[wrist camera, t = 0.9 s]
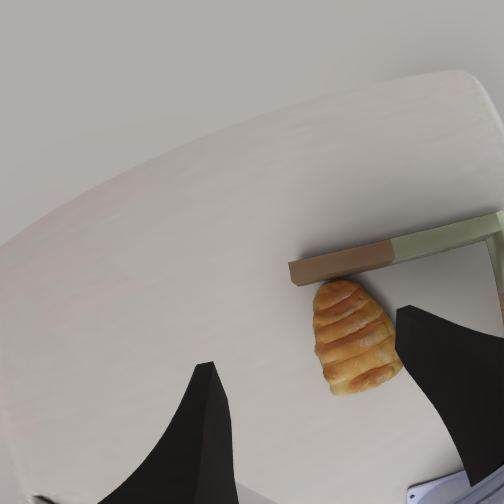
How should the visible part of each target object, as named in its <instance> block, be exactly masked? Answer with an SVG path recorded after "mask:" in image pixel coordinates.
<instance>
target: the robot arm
mask: <svg viewBox="0 0 504 504" xmlns="http://www.w3.org/2000/svg"><path fill="white" fill-rule="evenodd" d="M395 351H396V353H397V355H398V356H399V358H400V360H401V362H402V363H403V365H404V367H405V369H406V370H407V371H408V373H409V374H410V375H411V377H412V378H413V379H414V380H415V382H416V383H417V384H418V386H419V387H420V388H421V390H422V391H423V392H424V394H425V395H426V396H427V397H428V399H429V400H430V401H431V403H432V404H433V405H434V407H435V408H436V410H437V411H438V413H439V415H440V417H441V418H442V420H443V422H444V424H445V426H446V428H447V429H448V431H449V433H450V435H451V438H452V440H453V442H454V444H455V446H456V448H457V451H458V453H459V455H460V458H461V460H462V462H463V465H464V468H465V470H464V471H461V472H459V473H456V474H453V475H450V476H447V477H444V478H441V479H438V480H435V481H432V482H428V483H425V484H421V485H418V486H414V487H411V488H409V489H408V490H407V504H504V338H501V337H496V336H492V335H488V334H484V333H481V332H478V331H475V330H472V329H469V328H466V327H463V326H460V325H458V324H455V323H453V322H450V321H448V320H445V319H443V318H440V317H438V316H436V315H433V314H431V313H429V312H426V311H424V310H422V309H419V308H417V307H414V306H411V305H408V306H405V307H402V308H399V309H397V312H396V334H395ZM498 490H499V491H498ZM497 491H498V492H497ZM495 492H496V493H495ZM494 493H495V494H494ZM493 494H494V495H493ZM411 495H414V496H412V497H410V496H411ZM491 495H493V496H491ZM490 496H491V497H490ZM488 497H490V498H489V499H488V500H487V498H488ZM97 504H239V502H238V496H237V491H236V485H235V479H234V470H233V450H232V428H231V417H230V411H229V405H228V399H227V396H226V394H225V391H224V389H223V386H222V383H221V381H220V378H219V376H218V373H217V370H216V368H215V365H214V362H213V361H212V362H207V363H202V364H197V365H196V367H195V369H194V372H193V374H192V377H191V380H190V382H189V385H188V387H187V389H186V392H185V394H184V396H183V398H182V400H181V403H180V405H179V407H178V409H177V411H176V413H175V415H174V416H173V418H172V420H171V422H170V424H169V426H168V427H167V429H166V431H165V432H164V434H163V435H162V437H161V439H160V440H159V441H158V443H157V444H156V446H155V447H154V449H153V450H152V451H151V452H150V454H149V455H148V456H147V458H146V459H145V460H144V461H143V463H142V464H141V465H140V466H139V467H138V468H137V469H136V470H135V471H134V472H133V473H132V474H131V475H130V476H129V477H128V478H127V479H126V481H124V482H123V483H122V484H121V485H120V486H119V487H118V488H117V489H115V490H114V491H113V492H112V493H110V494H109V495H108V496H107V497H105V498H104V499H103V500H102V501H100V502H99V503H97Z"/></svg>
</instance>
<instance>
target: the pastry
mask: <svg viewBox="0 0 504 504" xmlns="http://www.w3.org/2000/svg"><path fill="white" fill-rule="evenodd" d="M313 311H314V317H313V329H314V334H315V338H316V345H315V353H316V355H317V356H318V358H319V359H320V362H321V365H322V367H323V375H324V378H325V379H326V380H327V382H328V383H329V385H330V391H331V392H332V393H333V394H334V395H336V396H346V395H349V394H356V393H358V392H362V391H366V390H368V389H371V388H374V387H377V386H379V385H380V384H382V383H383V382H384V381H388V380H389V379H391V378H392V377H394V376H395V375H397V374H398V372H399V371H400V370H401V369H402V367H403V363H402V362H401V360H400V358H399V356H398V355H397V353H396V351H395V334H396V332H395V329H394V327H393V324H392V321H391V319H390V317H389V316H388V315H387V314H386V313H385V311H384V310H383V308H382V307H381V306H380V305H378V304H377V302H376V301H375V300H374V299H373V298H372V297H371V296H370V295H369V294H368V293H367V292H366V291H365V290H364V289H363V287H362V286H361V285H360V284H359V283H356V282H353V281H349V280H346V279H339V280H334V281H332V282H329V283H326V284H324V285H322V286H321V287H320V289H319V291H318V293H317V295H316V297H315V298H314V301H313Z"/></svg>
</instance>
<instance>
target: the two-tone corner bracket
mask: <svg viewBox="0 0 504 504" xmlns="http://www.w3.org/2000/svg"><path fill="white" fill-rule="evenodd" d="M483 240H486V243H487V246H488V250H489V254H490V258H491V262H492V266H493V270H494V274H495V279H496V284H497V289H498V294H499V299H500V304H501V310H502V317H503V323H504V210H503V211H499V212H496V213H492V214H488V215H484V216H480V217H476V218H472V219H468V220H464V221H461V222H457V223H453V224H449V225H445V226H441V227H437V228H433V229H429V230H425V231H420V232H416V233H412V234H408V235H404V236H400V237H396V238H392V239H388V240H383V241H379V242H375V243H371V244H367V245H362V246H358V247H354V248H350V249H345V250H341V251H337V252H333V253H328V254H324V255H320V256H315V257H311V258H307V259H302V260H298V261H293V262H289V263H288V264H289V269H290V275H291V280H292V282H293V283H294V284H295V285H297V286H302V285H307V284H312V283H316V282H321V281H325V280H330V279H334V278H339V277H343V276H347V275H352V274H356V273H360V272H364V271H368V270H373V269H377V268H381V267H385V266H389V265H393V264H397V263H401V262H405V261H409V260H413V259H417V258H421V257H425V256H428V255H432V254H436V253H440V252H444V251H447V250H451V249H455V248H458V247H462V246H466V245H469V244H473V243H476V242H480V241H483Z"/></svg>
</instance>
